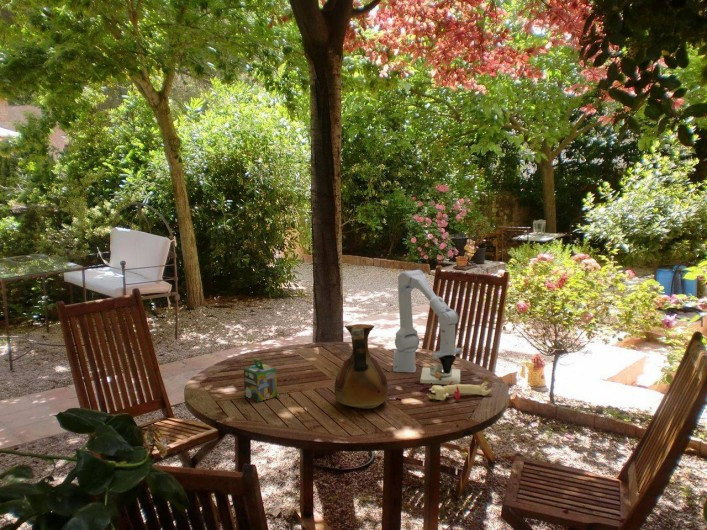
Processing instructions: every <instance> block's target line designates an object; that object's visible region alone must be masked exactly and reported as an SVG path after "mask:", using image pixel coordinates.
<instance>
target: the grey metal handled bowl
mask: <svg viewBox="0 0 707 530" xmlns="http://www.w3.org/2000/svg"><path fill="white" fill-rule="evenodd" d="M429 368H430V374H431V375H433V376H435V378H437V379H440V378H441V377H448V376H451V375H452V369H453V368H452V367H451V370H450V373H449V374H446V373H444V370H443V366H442V364H438V365H433V366H430V367H429Z"/></svg>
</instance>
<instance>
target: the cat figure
mask: <svg viewBox="0 0 707 530" xmlns="http://www.w3.org/2000/svg"><path fill="white" fill-rule="evenodd" d="M482 379H483V380H484V382H483V383H482V384H477V385H476V384H475V385H474V384H461V383H460V384H454V385H451V384H452V383H453V382H450V383H449V384H446V385H444V386H442V385H441V384H433V385H432V386H431V388H429V389H427V392H428V393H427V394H426V395H427V396H428V399H430V400H439V401H445V399H447V398H446V397H449V396H451V395H454V398H456V399H455V401H459V399H460V394H470V395H478V396H487V397H489V396H490V397H492V396H493V393H492V389H490V388H488V386H487V385H488V384H490V383H491V382H490V378H489V376H488V375H483V376H482Z"/></svg>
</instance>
